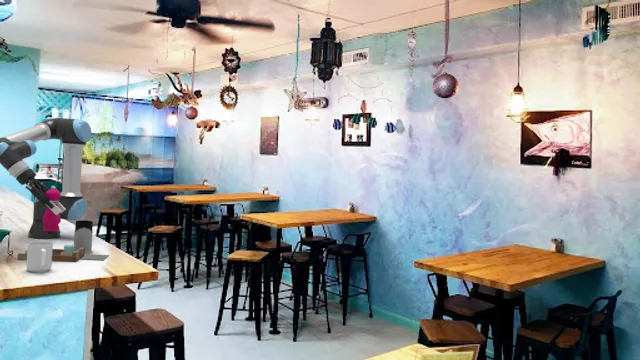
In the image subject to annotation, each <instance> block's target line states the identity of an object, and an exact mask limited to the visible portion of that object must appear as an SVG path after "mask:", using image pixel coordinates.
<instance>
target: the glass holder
mask: <svg viewBox="0 0 640 360" xmlns="http://www.w3.org/2000/svg"><path fill="white" fill-rule="evenodd" d="M93 224H94V221H93V220H85V219H84V220H81V219H80V220H75V225H74V226H75V227H74V228H75V229H74V237H73V245H74V250H78V249H79V248H81V247H85V255H86V254H92V253H93V250H92V247H93V232H94V230H93V227H94V225H93Z"/></svg>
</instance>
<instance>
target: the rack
mask: <svg viewBox="0 0 640 360" xmlns="http://www.w3.org/2000/svg"><path fill="white" fill-rule="evenodd" d="M74 251H75V252H73V253H72V256H70V255H61V252H64V248H53V251H52V262H61V263H62V262H63V263H64V262H65V263H66V262H67V263H76V262H78V261H79V260H80V258H82V257H83V256H85V255H86V254H85V247H81V248H79V249H78V250H74ZM16 259H17V261H27V254H25V253H20V252H19V253H17V258H16Z"/></svg>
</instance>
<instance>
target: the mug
mask: <svg viewBox="0 0 640 360" xmlns="http://www.w3.org/2000/svg"><path fill="white" fill-rule="evenodd" d="M53 245H54V242H51V241H46V240H44V241H43V240H40V241H39V240H38V241H35V240H34V241H30V242H27V248H26V250H27V260H26V266H25V267H26V270H27V271H28V272H30V273H44V272H48V271H49V270H51V269H52V266H53V265H52V264H53V261H52V251H53V249H54V246H53Z"/></svg>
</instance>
